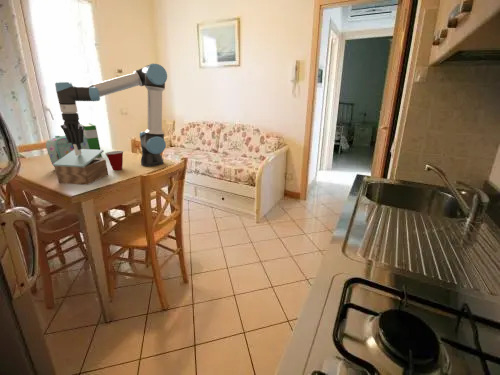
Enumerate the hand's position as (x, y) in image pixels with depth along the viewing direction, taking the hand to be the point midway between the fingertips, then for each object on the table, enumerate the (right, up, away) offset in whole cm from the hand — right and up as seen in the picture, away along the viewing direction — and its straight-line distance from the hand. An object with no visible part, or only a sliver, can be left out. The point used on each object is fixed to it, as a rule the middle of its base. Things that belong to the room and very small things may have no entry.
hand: (78, 154), depth 149 cm
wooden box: (0, -13, +5) cm, 14 cm away
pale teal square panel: (0, -2, 0) cm, 2 cm away
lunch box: (-25, -3, +32) cm, 40 cm away
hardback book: (-28, +7, +60) cm, 66 cm away
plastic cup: (+10, -7, +23) cm, 26 cm away
